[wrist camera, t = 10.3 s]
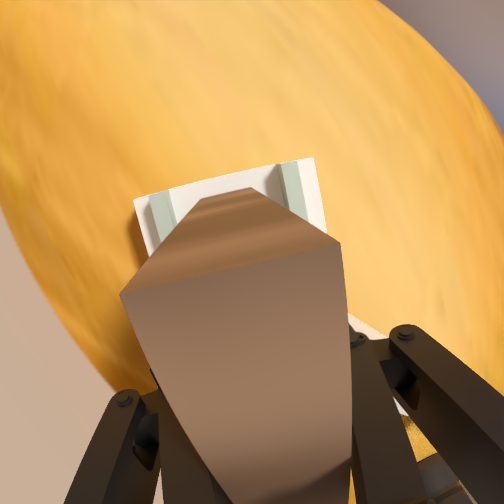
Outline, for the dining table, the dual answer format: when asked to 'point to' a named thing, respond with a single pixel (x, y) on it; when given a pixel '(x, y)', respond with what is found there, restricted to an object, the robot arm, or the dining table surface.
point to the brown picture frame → (252, 347)
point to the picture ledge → (261, 179)
